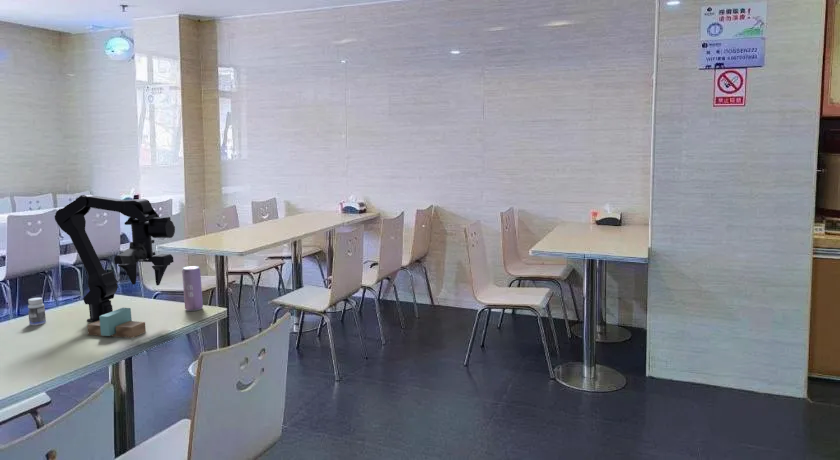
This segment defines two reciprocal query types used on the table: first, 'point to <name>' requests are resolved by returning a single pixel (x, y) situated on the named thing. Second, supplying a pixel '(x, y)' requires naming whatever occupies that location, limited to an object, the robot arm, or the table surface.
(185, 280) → the beverage can
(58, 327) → the table surface
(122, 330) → the slotted block
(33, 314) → the pill bottle
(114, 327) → the teal upright brick
